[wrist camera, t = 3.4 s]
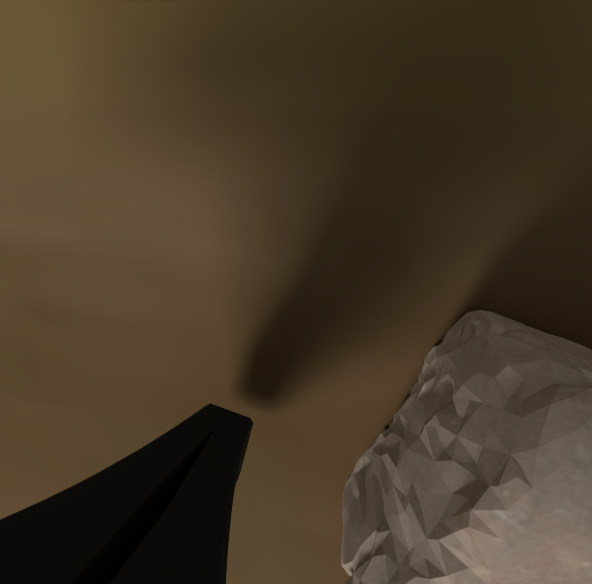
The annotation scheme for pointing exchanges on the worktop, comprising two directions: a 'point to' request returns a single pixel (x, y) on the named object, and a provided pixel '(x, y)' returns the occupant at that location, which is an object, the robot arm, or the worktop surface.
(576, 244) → the worktop surface
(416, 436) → the brick
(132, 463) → the robot arm
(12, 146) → the worktop surface
